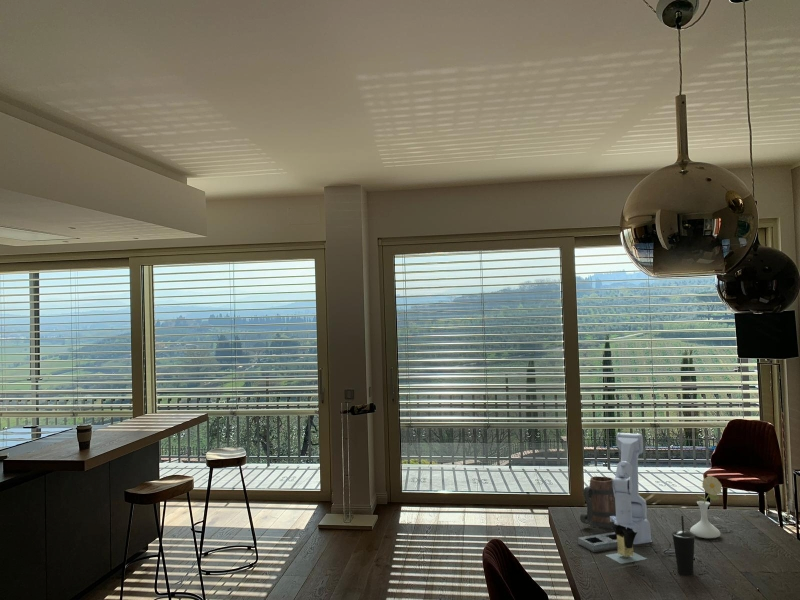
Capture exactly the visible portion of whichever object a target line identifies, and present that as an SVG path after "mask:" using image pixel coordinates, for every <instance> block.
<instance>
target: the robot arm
mask: <svg viewBox="0 0 800 600" xmlns="http://www.w3.org/2000/svg"><path fill="white" fill-rule="evenodd" d="M615 439H616V440H615V441H616V446H617V448H618V450H619V452H620V461H619V462H618V463H617V465H616V472H615V478H612V479H613V492H614V497H615V506H616V516H610V522H614V525H612V528H613V529H612V530H613V532H615V534H616V536H617V535H618V534H624V536H625V541H626V547H627V548H628V549H629V548H632V547H633V548H634V545H641V544H648V543H652V542H653V540H652V537H651V523H650V522H649V520H648V519H647V516H648V508H647V507H648V506H647V501H646V499H645V498H643V497H642V496H641V495H640V494H639V492H640V491H639V455H641V454H644V453H643V452H644V437H643V434H642V433H630V432H627V433H626V432H617V434H616V438H615Z"/></svg>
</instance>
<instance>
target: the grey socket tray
mask: <svg viewBox="0 0 800 600" xmlns="http://www.w3.org/2000/svg"><path fill="white" fill-rule="evenodd" d="M577 544H578V545H580V546H582V547H583V548H584V549H586V550H589V551H590V552H593V553H597V552H599V553H600V552H603V551H609V550H615V549H618V547H617V536H616V534H615V531H613V532H611V531H610V532H605V533H598V534H591V535H585V536H579V537H577Z"/></svg>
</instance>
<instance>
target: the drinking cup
mask: <svg viewBox="0 0 800 600" xmlns="http://www.w3.org/2000/svg"><path fill="white" fill-rule="evenodd" d="M680 519H681V529H676V530H673V531H672V532H671V536H672V539H673V540H672V541H673V549H674V554H675V560H676V568H677V573H678V574H679V575H681V576H684V577H685V576H686V577H690V576H693V575H694V562H695V561H694V560H695V538H696V535H695V534H693V533H691V532H690V530H685V525H684V524H685V523H684V520H685V519H684V515H681V517H680Z"/></svg>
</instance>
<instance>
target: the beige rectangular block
mask: <svg viewBox="0 0 800 600" xmlns="http://www.w3.org/2000/svg"><path fill="white" fill-rule="evenodd" d="M617 547H618V548H617V553H618V554H620V555H622V556H624V557H627V556H633V555H634V554H633V552H634V546H633V547H632V548H629V549H628V548H627V547H626V541H625V536H624V534H618V535H617Z"/></svg>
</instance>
